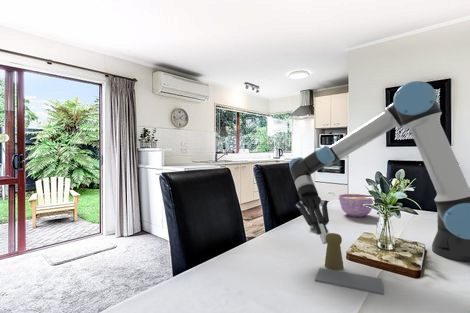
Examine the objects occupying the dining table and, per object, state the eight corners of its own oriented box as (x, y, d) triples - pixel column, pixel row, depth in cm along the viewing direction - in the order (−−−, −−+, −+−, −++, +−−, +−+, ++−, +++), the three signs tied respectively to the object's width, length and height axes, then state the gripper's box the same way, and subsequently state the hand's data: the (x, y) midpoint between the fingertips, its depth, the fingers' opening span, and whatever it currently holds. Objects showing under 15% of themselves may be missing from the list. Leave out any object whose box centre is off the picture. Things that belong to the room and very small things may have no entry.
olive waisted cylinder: (331, 271, 84) (331, 237, 84) (321, 263, 90) (320, 232, 90) (347, 268, 86) (347, 235, 86) (335, 261, 92) (335, 230, 92)
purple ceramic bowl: (375, 213, 162) (375, 195, 162) (373, 221, 145) (373, 200, 145) (341, 210, 172) (341, 193, 172) (335, 217, 155) (335, 197, 155)
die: (326, 228, 134) (317, 211, 139) (330, 224, 127) (320, 206, 131) (312, 235, 133) (303, 218, 138) (315, 231, 126) (305, 213, 130)
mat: (381, 279, 78) (381, 278, 78) (383, 294, 70) (383, 293, 70) (319, 268, 86) (319, 267, 86) (314, 280, 78) (314, 279, 78)
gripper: (318, 193, 112) (339, 245, 96) (289, 194, 110) (305, 248, 94) (323, 182, 107) (347, 236, 90) (293, 183, 105) (311, 238, 88)
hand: (325, 242), depth 92 cm, fingers closed
